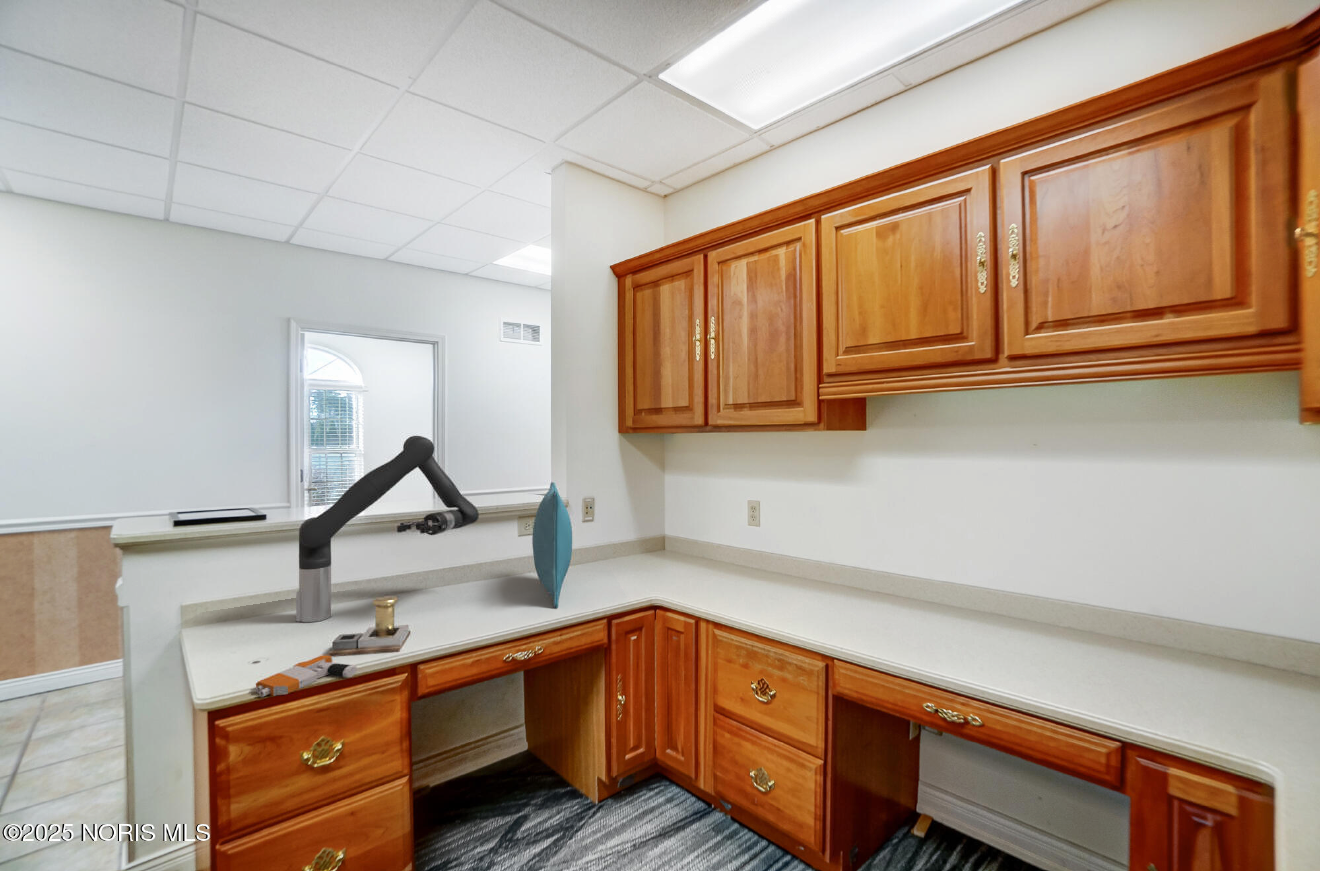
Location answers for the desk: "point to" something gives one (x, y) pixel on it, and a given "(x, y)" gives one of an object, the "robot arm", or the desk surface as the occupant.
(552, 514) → the pillow
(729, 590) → the desk surface
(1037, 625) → the desk surface
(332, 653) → the walnut board
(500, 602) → the desk surface
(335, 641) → the grey square ring
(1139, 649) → the desk surface
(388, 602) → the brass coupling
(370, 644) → the wide steel port
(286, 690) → the toy gun
